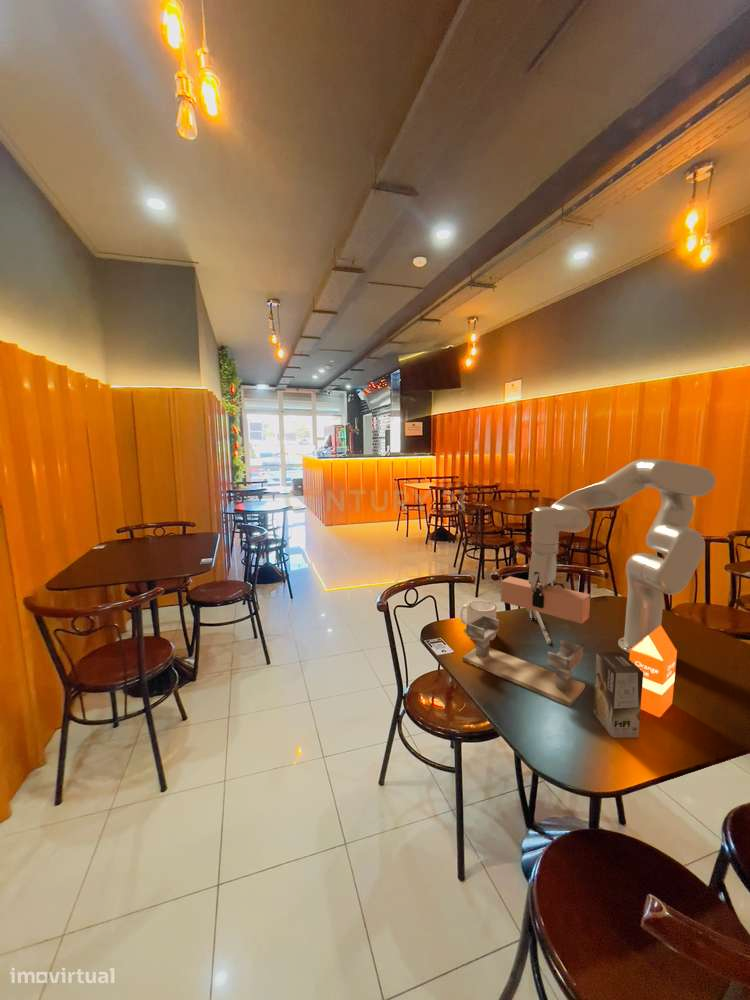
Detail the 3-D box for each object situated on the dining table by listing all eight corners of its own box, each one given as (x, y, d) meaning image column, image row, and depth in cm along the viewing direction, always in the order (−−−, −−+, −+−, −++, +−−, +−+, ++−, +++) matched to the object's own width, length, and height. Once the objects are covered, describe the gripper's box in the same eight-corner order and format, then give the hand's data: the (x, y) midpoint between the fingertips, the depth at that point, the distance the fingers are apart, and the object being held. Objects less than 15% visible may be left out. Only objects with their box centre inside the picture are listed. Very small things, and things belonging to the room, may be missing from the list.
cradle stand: (584, 687, 110) (587, 646, 109) (570, 706, 103) (572, 662, 101) (480, 647, 133) (481, 613, 131) (462, 660, 125) (463, 624, 123)
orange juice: (672, 703, 103) (679, 630, 100) (660, 718, 98) (667, 640, 95) (638, 689, 109) (644, 619, 107) (624, 702, 104) (630, 629, 101)
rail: (589, 617, 119) (590, 594, 118) (582, 623, 114) (583, 600, 113) (509, 596, 136) (509, 576, 135) (500, 601, 132) (501, 580, 131)
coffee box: (640, 738, 91) (645, 672, 89) (611, 738, 92) (616, 672, 89) (617, 711, 100) (621, 651, 98) (591, 711, 101) (595, 651, 98)
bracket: (534, 610, 156) (538, 592, 151) (549, 659, 139) (554, 641, 133) (526, 610, 157) (530, 592, 151) (539, 658, 139) (544, 640, 134)
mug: (452, 631, 145) (452, 603, 143) (468, 622, 151) (469, 595, 150) (485, 644, 135) (486, 614, 133) (501, 634, 142) (502, 605, 140)
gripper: (543, 540, 131) (541, 593, 134) (520, 550, 119) (518, 608, 122) (567, 544, 126) (565, 598, 128) (545, 555, 114) (543, 615, 116)
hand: (542, 603), depth 125 cm, fingers closed on rail, 6 cm apart
